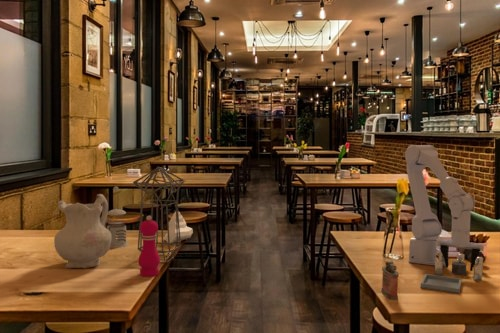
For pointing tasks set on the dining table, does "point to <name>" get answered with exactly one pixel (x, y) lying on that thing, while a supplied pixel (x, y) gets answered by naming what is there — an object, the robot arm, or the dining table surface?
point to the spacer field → (460, 257)
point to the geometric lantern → (162, 171)
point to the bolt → (468, 254)
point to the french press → (115, 227)
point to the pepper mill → (149, 249)
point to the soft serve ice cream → (184, 230)
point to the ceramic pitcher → (83, 233)
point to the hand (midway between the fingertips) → (459, 268)
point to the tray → (441, 283)
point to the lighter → (390, 281)
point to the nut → (458, 268)
